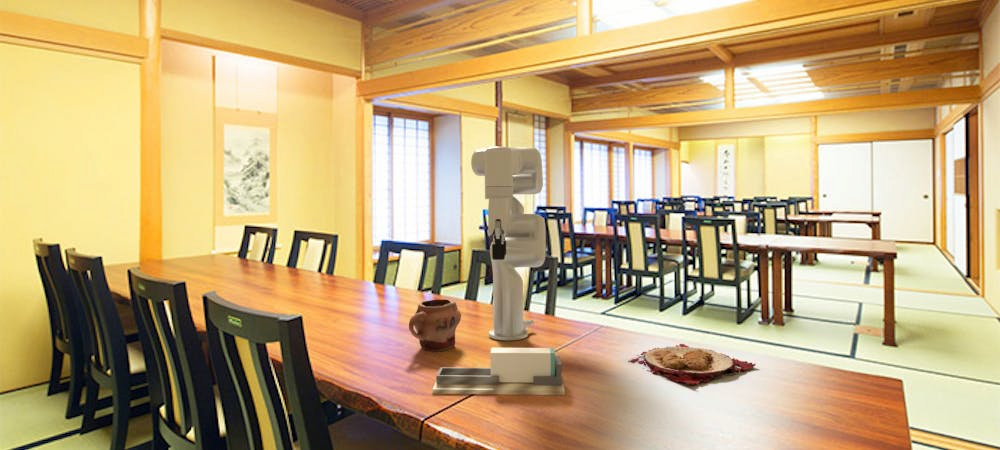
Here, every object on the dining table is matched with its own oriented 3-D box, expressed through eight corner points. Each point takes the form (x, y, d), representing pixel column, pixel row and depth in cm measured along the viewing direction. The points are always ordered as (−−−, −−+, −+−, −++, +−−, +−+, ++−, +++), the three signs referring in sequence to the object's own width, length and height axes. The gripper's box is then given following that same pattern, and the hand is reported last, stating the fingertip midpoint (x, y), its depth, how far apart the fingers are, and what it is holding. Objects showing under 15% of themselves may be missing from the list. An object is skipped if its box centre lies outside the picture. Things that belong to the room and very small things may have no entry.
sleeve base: (432, 393, 116) (432, 380, 115) (441, 374, 128) (441, 363, 127) (564, 395, 114) (564, 382, 114) (561, 376, 126) (561, 364, 126)
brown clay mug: (430, 361, 138) (429, 311, 137) (396, 355, 144) (395, 306, 143) (470, 342, 155) (470, 297, 154) (438, 337, 161) (438, 294, 160)
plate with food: (757, 371, 130) (757, 358, 130) (689, 389, 117) (689, 374, 117) (681, 349, 151) (681, 337, 151) (617, 361, 138) (617, 349, 138)
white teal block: (490, 382, 119) (490, 352, 118) (491, 376, 123) (491, 347, 122) (554, 382, 118) (554, 353, 118) (553, 376, 122) (553, 348, 122)
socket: (533, 385, 117) (533, 364, 117) (533, 376, 123) (532, 355, 123) (561, 385, 117) (561, 364, 117) (559, 376, 123) (559, 356, 123)
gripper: (487, 193, 145) (488, 253, 146) (482, 193, 127) (482, 261, 128) (513, 193, 144) (514, 253, 145) (512, 193, 127) (512, 261, 128)
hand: (499, 257), depth 137 cm, fingers open, 9 cm apart
